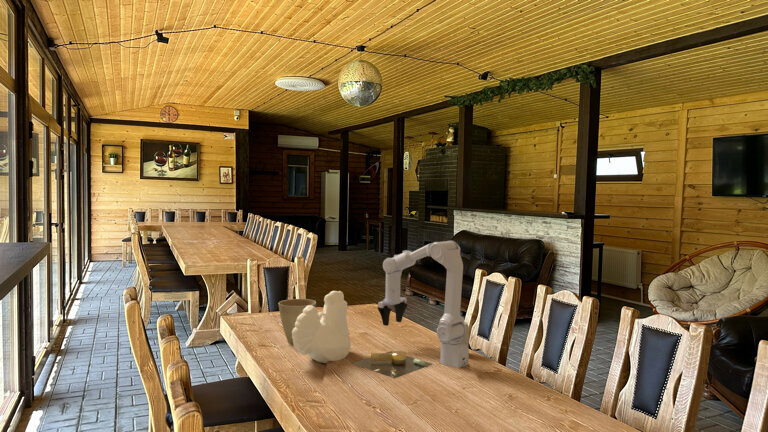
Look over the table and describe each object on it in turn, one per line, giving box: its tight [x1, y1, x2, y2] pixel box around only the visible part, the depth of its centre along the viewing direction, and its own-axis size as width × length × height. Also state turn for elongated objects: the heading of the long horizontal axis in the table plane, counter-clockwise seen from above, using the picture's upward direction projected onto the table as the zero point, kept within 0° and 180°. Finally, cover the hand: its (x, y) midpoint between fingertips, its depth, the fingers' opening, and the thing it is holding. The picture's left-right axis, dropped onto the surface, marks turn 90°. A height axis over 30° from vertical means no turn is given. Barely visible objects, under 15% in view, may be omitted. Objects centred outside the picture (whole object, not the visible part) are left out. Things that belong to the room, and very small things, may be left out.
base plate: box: [351, 350, 433, 379], centre depth 178 cm, size 20×20×3 cm
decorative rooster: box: [292, 290, 352, 364], centre depth 184 cm, size 25×16×25 cm, turn 129°
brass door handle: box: [370, 350, 407, 365], centre depth 179 cm, size 12×5×3 cm, turn 91°
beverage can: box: [461, 321, 470, 348], centre depth 195 cm, size 6×6×12 cm
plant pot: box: [277, 298, 317, 345], centre depth 208 cm, size 15×15×16 cm
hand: (392, 323), depth 199 cm, fingers open, 7 cm apart
